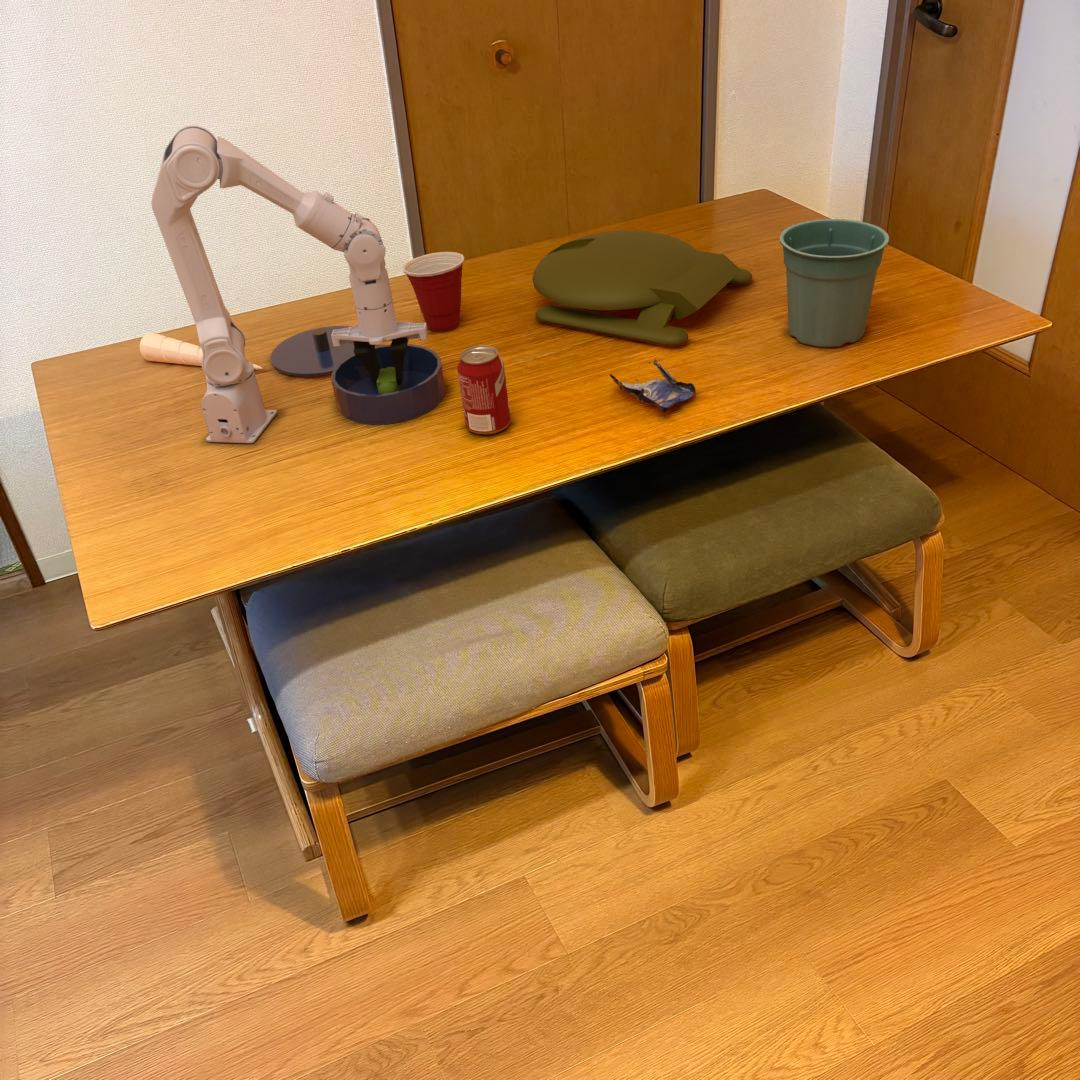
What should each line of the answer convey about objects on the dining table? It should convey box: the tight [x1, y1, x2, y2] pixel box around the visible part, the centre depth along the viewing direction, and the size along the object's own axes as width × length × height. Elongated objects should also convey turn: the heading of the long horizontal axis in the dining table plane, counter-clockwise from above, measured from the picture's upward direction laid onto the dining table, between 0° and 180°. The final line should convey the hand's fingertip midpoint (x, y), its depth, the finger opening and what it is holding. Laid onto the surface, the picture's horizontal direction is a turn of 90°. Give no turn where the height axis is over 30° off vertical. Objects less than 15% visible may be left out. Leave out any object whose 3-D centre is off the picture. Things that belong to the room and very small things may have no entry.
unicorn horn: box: [139, 331, 264, 371], centre depth 187 cm, size 5×24×5 cm, turn 65°
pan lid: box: [270, 325, 354, 377], centre depth 186 cm, size 18×18×4 cm
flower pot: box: [779, 218, 890, 348], centre depth 173 cm, size 16×16×16 cm
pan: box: [330, 343, 446, 426], centre depth 172 cm, size 17×17×5 cm
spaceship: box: [532, 229, 753, 348], centre depth 192 cm, size 35×31×10 cm
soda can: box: [456, 344, 512, 436], centre depth 159 cm, size 7×7×12 cm
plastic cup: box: [402, 251, 465, 333], centre depth 190 cm, size 11×11×12 cm
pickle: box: [376, 367, 401, 394], centre depth 172 cm, size 7×3×3 cm, turn 179°
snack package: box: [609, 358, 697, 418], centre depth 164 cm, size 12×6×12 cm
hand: (389, 382), depth 172 cm, fingers closed on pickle, 3 cm apart
